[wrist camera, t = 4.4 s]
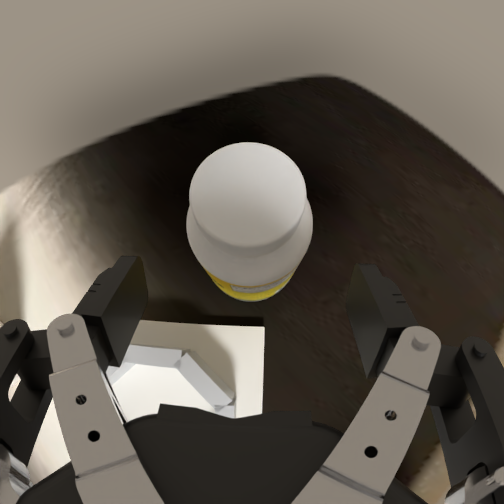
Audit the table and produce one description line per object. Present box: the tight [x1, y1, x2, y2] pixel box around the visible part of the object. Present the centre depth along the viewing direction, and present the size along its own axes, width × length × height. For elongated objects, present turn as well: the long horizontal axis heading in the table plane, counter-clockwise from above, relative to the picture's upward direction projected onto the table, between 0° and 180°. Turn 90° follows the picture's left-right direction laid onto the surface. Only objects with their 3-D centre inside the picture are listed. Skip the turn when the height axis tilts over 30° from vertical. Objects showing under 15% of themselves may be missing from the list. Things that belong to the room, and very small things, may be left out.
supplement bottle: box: [186, 142, 313, 301], centre depth 15 cm, size 5×5×10 cm
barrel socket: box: [106, 320, 265, 421], centre depth 16 cm, size 12×12×3 cm
